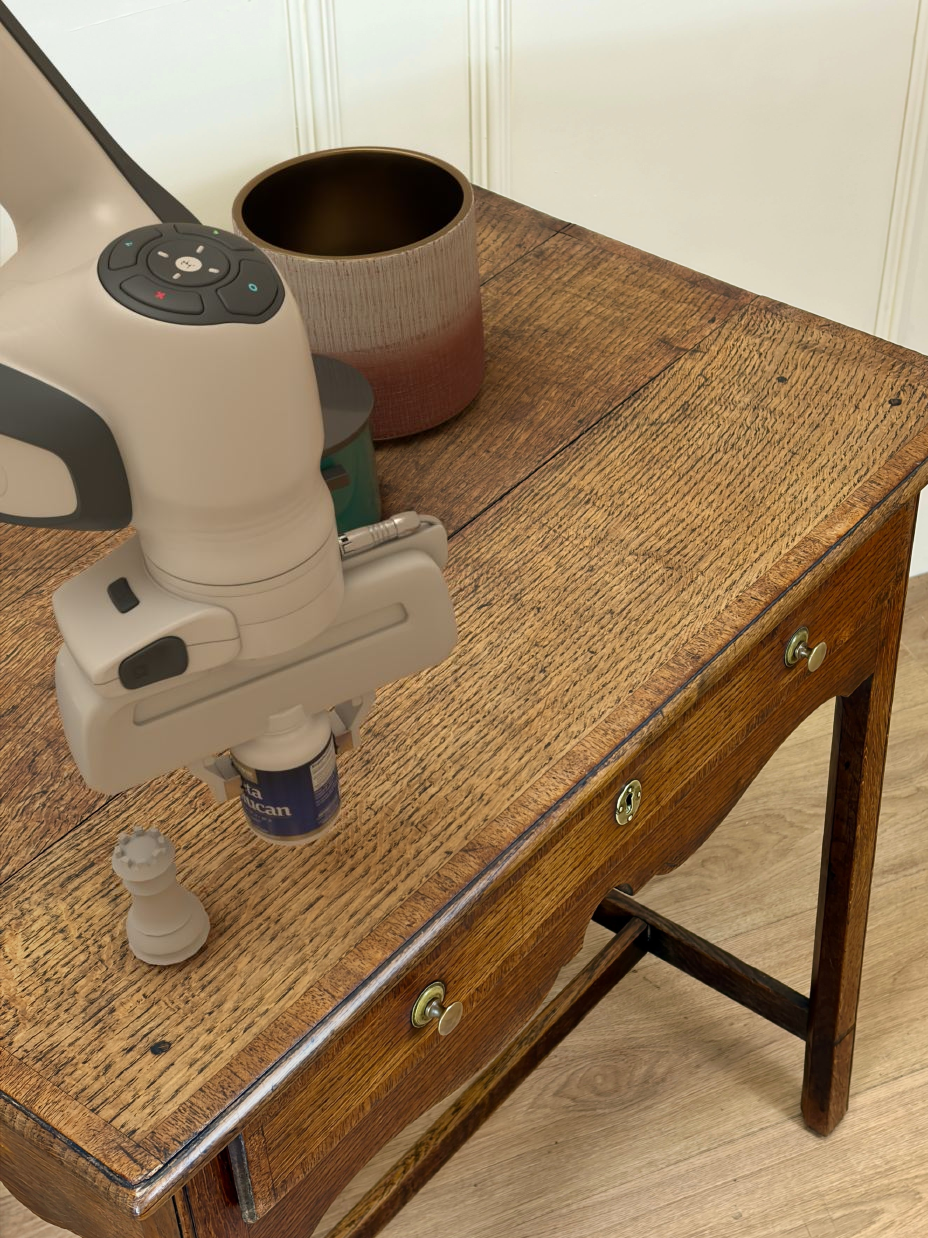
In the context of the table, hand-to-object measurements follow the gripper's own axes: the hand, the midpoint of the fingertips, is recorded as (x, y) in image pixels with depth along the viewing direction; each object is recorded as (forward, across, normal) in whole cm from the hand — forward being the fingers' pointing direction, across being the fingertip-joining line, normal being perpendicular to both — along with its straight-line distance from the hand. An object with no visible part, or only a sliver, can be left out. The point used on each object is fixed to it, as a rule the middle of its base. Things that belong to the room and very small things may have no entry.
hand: (284, 767), depth 79 cm
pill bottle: (+4, 0, 0) cm, 4 cm away
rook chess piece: (+8, +8, +1) cm, 12 cm away
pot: (+8, -12, -29) cm, 32 cm away
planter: (+8, -24, -41) cm, 48 cm away
